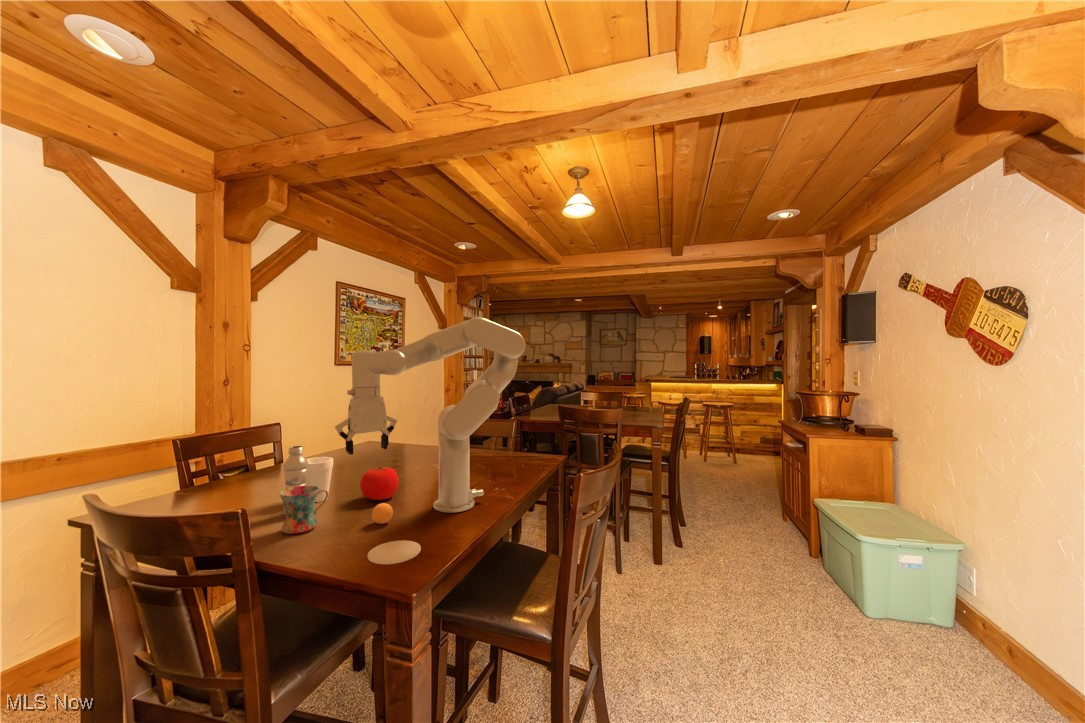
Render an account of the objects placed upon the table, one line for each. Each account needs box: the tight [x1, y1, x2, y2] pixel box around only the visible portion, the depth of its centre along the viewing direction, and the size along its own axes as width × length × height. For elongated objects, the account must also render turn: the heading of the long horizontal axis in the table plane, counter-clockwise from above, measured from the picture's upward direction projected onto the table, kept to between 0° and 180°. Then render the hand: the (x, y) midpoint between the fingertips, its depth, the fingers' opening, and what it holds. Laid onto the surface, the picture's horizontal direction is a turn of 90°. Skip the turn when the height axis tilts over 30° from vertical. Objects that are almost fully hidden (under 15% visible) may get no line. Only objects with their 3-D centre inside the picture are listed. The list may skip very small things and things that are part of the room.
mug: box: [279, 485, 329, 535], centre depth 113 cm, size 12×9×11 cm
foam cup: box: [306, 456, 334, 503], centre depth 136 cm, size 10×9×13 cm
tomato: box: [359, 466, 400, 501], centre depth 137 cm, size 11×12×10 cm
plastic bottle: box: [282, 445, 308, 514], centre depth 123 cm, size 6×7×20 cm
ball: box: [371, 502, 394, 525], centre depth 116 cm, size 6×6×6 cm
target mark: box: [367, 539, 422, 566], centre depth 99 cm, size 12×12×1 cm
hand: (367, 451), depth 122 cm, fingers open, 9 cm apart
